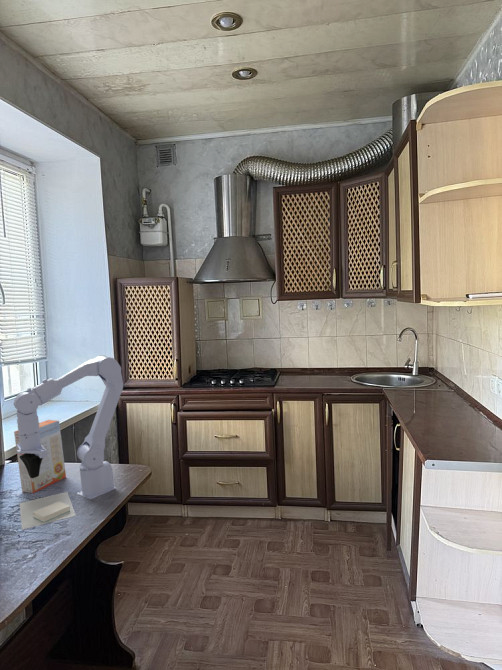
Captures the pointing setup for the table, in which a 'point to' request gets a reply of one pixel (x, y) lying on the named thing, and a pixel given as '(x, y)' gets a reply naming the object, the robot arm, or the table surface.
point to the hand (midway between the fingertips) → (34, 476)
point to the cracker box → (45, 459)
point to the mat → (40, 503)
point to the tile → (51, 511)
